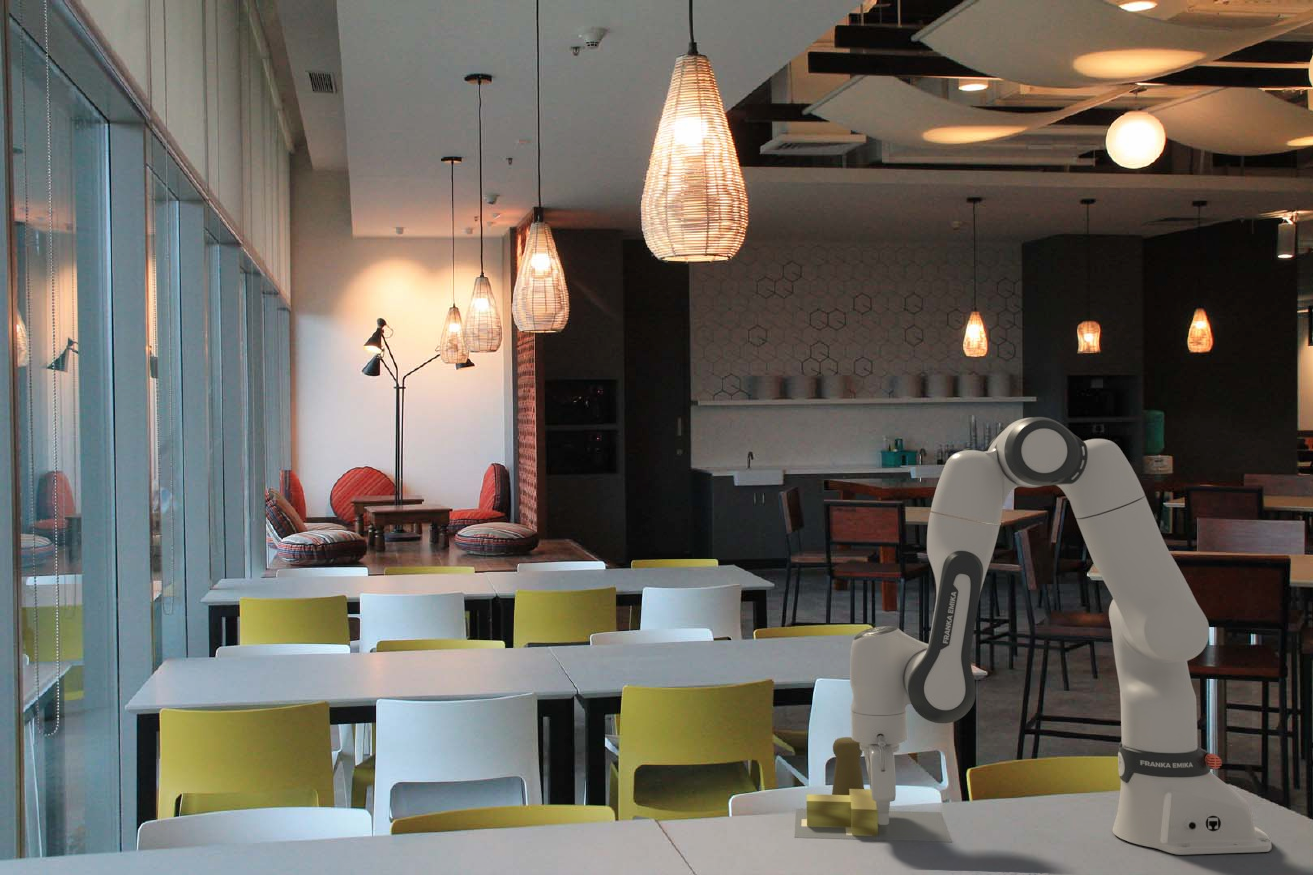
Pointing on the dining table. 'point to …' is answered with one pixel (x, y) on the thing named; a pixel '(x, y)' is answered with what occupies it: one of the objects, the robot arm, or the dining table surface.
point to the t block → (844, 811)
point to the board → (883, 828)
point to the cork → (847, 766)
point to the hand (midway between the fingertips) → (881, 814)
